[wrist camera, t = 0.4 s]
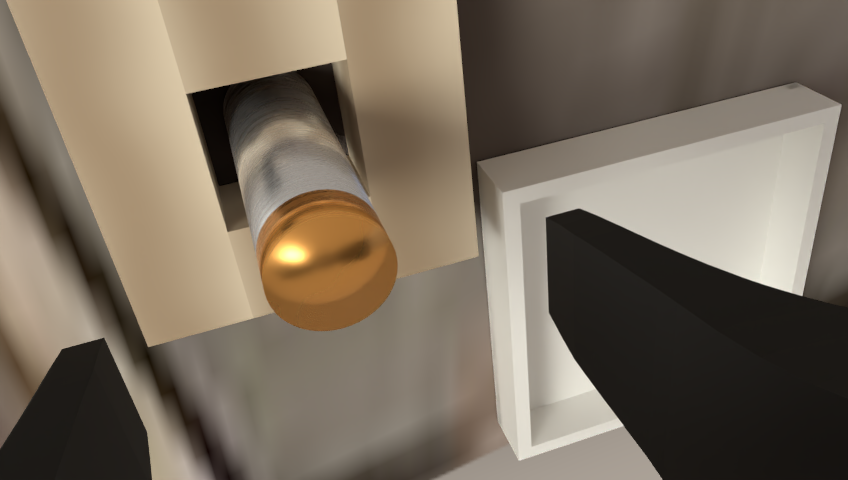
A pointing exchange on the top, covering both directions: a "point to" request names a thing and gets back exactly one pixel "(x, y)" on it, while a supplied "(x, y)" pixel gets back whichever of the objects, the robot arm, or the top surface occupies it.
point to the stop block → (188, 153)
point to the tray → (645, 230)
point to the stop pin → (305, 207)
